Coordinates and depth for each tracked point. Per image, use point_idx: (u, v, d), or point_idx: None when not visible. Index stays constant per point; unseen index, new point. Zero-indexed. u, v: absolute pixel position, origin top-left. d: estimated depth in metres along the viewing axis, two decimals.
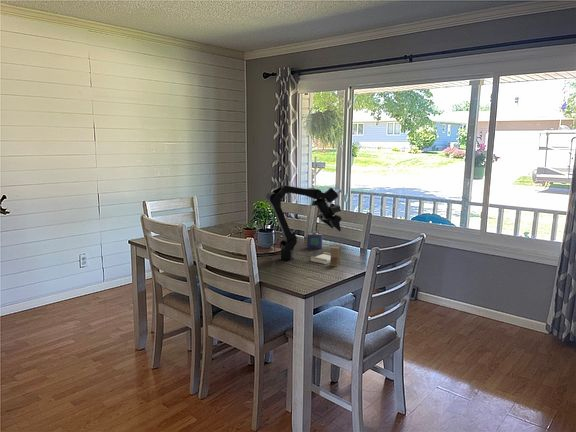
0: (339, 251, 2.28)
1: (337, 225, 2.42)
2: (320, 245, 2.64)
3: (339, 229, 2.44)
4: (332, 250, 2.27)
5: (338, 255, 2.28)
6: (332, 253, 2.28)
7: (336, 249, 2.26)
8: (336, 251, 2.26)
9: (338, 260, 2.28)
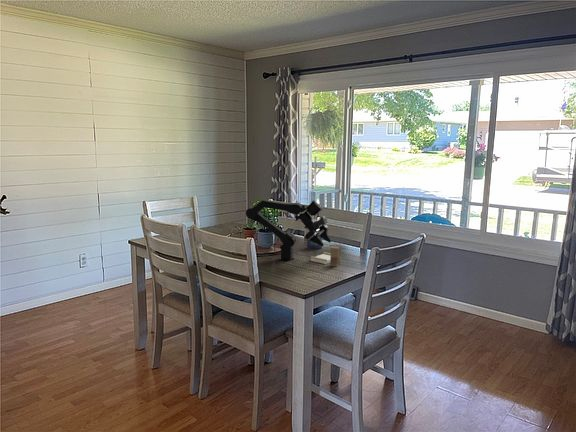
0: (339, 251, 2.28)
1: (317, 240, 2.27)
2: (320, 245, 2.64)
3: (321, 244, 2.27)
4: (332, 250, 2.27)
5: (338, 255, 2.28)
6: (332, 253, 2.28)
7: (336, 249, 2.26)
8: (336, 251, 2.26)
9: (338, 260, 2.28)
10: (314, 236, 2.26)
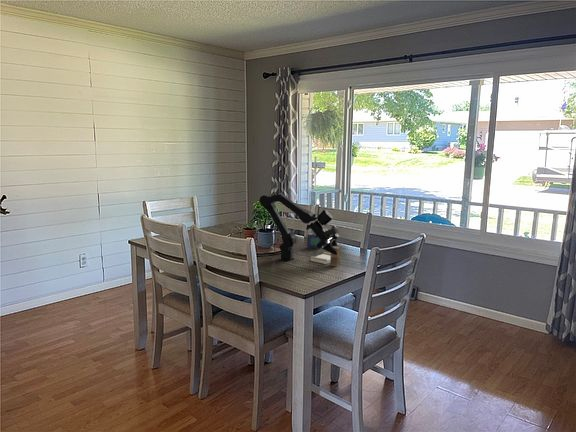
0: (339, 251, 2.28)
1: (330, 248, 2.26)
2: None
3: (334, 253, 2.26)
4: None
5: (338, 255, 2.28)
6: None
7: (336, 249, 2.26)
8: (336, 251, 2.26)
9: (338, 260, 2.28)
10: (327, 245, 2.25)
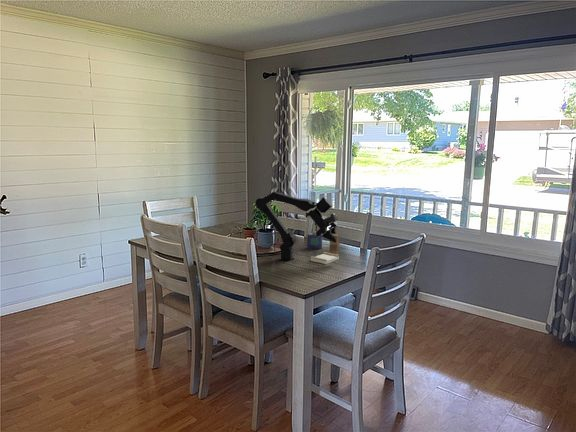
0: (338, 239, 2.29)
1: (329, 236, 2.27)
2: (320, 245, 2.64)
3: (333, 240, 2.27)
4: None
5: (337, 242, 2.28)
6: None
7: (335, 236, 2.27)
8: (335, 238, 2.27)
9: (337, 247, 2.28)
10: (327, 232, 2.26)
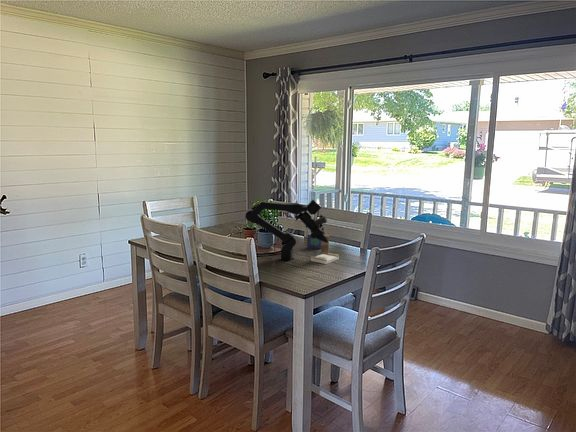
0: None
1: (321, 237, 2.35)
2: (320, 245, 2.64)
3: (325, 240, 2.36)
4: None
5: (328, 242, 2.38)
6: (323, 241, 2.36)
7: (327, 237, 2.36)
8: (327, 239, 2.36)
9: (328, 247, 2.38)
10: (319, 233, 2.33)
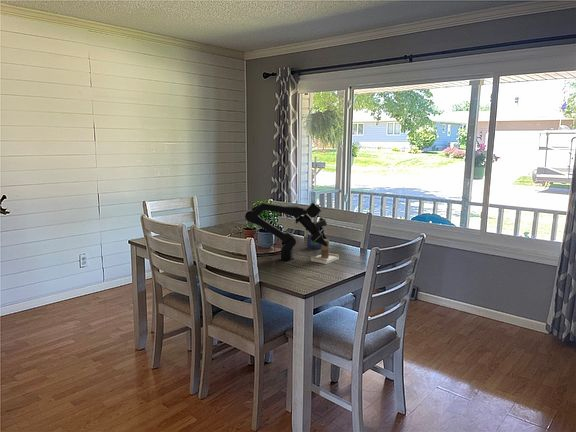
0: None
1: (321, 240, 2.33)
2: (320, 245, 2.64)
3: (325, 244, 2.34)
4: None
5: (328, 247, 2.38)
6: (323, 246, 2.37)
7: (327, 241, 2.36)
8: (327, 243, 2.36)
9: (328, 251, 2.38)
10: (319, 237, 2.32)
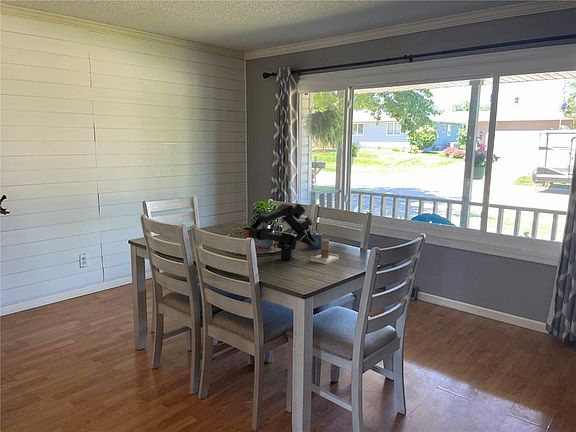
0: None
1: (306, 240, 2.34)
2: (320, 245, 2.64)
3: (310, 244, 2.34)
4: (323, 242, 2.37)
5: (328, 247, 2.38)
6: (323, 246, 2.37)
7: (327, 241, 2.36)
8: (327, 243, 2.36)
9: (328, 251, 2.38)
10: (304, 237, 2.32)
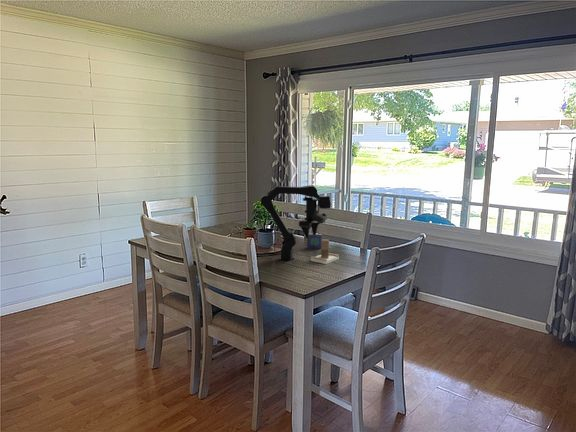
0: None
1: (306, 230, 2.33)
2: (320, 245, 2.64)
3: (306, 236, 2.35)
4: (323, 242, 2.37)
5: (328, 247, 2.38)
6: (323, 246, 2.37)
7: (327, 241, 2.36)
8: (327, 243, 2.36)
9: (328, 251, 2.38)
10: None
